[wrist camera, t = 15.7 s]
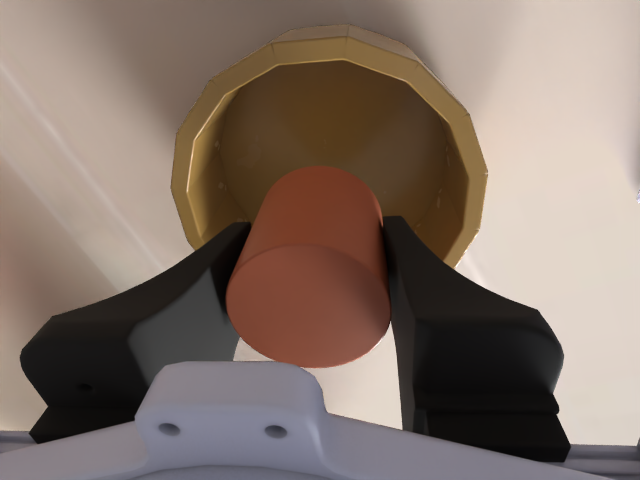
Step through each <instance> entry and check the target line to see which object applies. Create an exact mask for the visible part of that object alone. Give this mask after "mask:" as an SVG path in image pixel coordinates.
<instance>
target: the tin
mask: <svg viewBox="0 0 640 480" xmlns="http://www.w3.org/2000/svg"><path fill="white" fill-rule="evenodd" d="M310 166H328V167H334V168H338V169H341V170H344V171H346V172H349V173H351V174H352V175H354V176H356V177H357V178H359V179H360V180H361V181H363V182H364V183H365V184H366V185H367V186H368V187H369V188H370V190H371V191H372V192H373V193H374V195H375V197H376V199H377V200H378V203H379V205H380V209H381V213H382V222H383V216H402V217H403V218H404V219H405V221H406V222H407V223H408V225H409V226H410V227H411V229H412V230H413V231H414V232H415V234H416V235H417V236H418V237H419V238H420V239H421V240H422V242H423V243H424V244H425V245H426V246H427V247H428V248H429V249H430V250H431V251H432V252H433V253H434V254H435V255H436V256H438V257H439V258H440V259H441V260H442V261H443V262H444V263H446V264H447V265H448V266H450V267H451V268H453V269H455V268H456V266H457V265H458V263H459V262H460V260H461V258H462V257H463V255H464V254H465V252H466V251H467V249H468V247H469V246H470V244H471V243H472V241H473V240H474V238H475V237H476V235H477V233H478V232H479V229H480V225H481V218H482V211H483V204H484V198H485V191H486V184H487V177H488V174H487V173H488V170H487V167H486V164H485V161H484V158H483V155H482V152H481V148H480V145H479V142H478V139H477V136H476V133H475V130H474V127H473V124H472V121H471V118H470V114H469V113H468V112H467V110H466V109H465V108H464V106H463V105H462V104H461V103H460V102H459V101H458V99H457V98H456V97H455V96H454V95H453V94H452V93H451V91H450V90H449V89H448V88H447V87H446V86H445V84H444V83H443V82H442V81H441V80H440V79H439V78H438V77H437V76H436V75H435V74H434V73H433V72H432V71H431V70H430V69H429V68H428V67H427V66H426V65H425V64H424V63H423V62H422V61H421V60H420V59H419V58H418V57H417V56H416V55H415V54H414V53H413V52H412V51H411V49H410V48H409V47H408V46H406V45H405V44H404V43H401V42H398V41H396V40H393V39H390V38H387V37H385V36H383V35H381V34H378V33H376V32H372V31H369V30H365V29H363V28H360V27H357V26H355V25H352V24H350V25H349V24H341V25H325V26H315V27H309V28H299V29H292V30H288V31H287V32H285V33H283V34H282V35H280V36H279V37H277V38H275V39H274V40H272V41H270V42H269V43H267V44H265V45H264V46H262V47H260V48H259V49H257V50H255V51H254V52H252V53H250V54H249V55H247V56H245V57H244V58H242V59H241V60H239V61H237V62H236V63H234V64H233V65H231V66H230V67H228V68H227V69H225V70H224V71H222V72H220V73H219V74H217V75H216V76H214V77H213V78H212V79H211V80H210V81H209V82H208V84H207V85H206V87H205V88H204V90H203V92H202V93H201V95H200V96H199V98H198V99H197V101H196V103H195V104H194V106H193V107H192V109H191V110H190V112H189V114H188V115H187V117H186V118H185V120H184V121H183V123H182V125H181V126H180V128H179V129H178V132H177V133H176V142H175V152H174V161H173V170H172V179H171V192H172V195H173V198H174V201H175V204H176V207H177V210H178V213H179V217H180V220H181V223H182V226H183V229H184V232H185V235H186V238H187V239H188V240H187V241H188V242H189V244H190V245H191V246H192V247H193V249H194V250H195V251H196V250H198V249H199V248H200V247H201V246H203V245H204V244H205V243H207V242H208V241H209V240H211V239H212V238H213V237H214V236H216V235H217V234H218V233H220V232H221V231H222V230H223V229H225V228H226V227H227V226H229V225H230V224H232V223H234V222H251V227H252V226H253V224H254V222H255V219H256V217H257V215H258V212H259V210H260V208H261V205H262V203H263V201H264V198H265V196H266V195H267V193H268V191H269V190H270V188H271V187H272V186H273V185H274V184H275V183H276V182H277V181H278V180H279V179H280V178H282V177H283V176H284V175H286V174H288V173H290V172H292V171H294V170H297V169H300V168H304V167H310Z"/></svg>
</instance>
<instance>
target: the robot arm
mask: <svg viewBox="0 0 640 480" xmlns="http://www.w3.org/2000/svg"><path fill="white" fill-rule="evenodd" d="M637 201H638V203H640V190H639V193H638V195H637ZM251 229H252V227H251V222H234V223H232V224H230V225H229V226H227V227H226V228H225V229H223V230H222V231H221V232H220V233H218V234H217V235H216V236H214V237H213V238H212V239H211V240H209V241H208V242H207V243H205V244H204V245H203V246H201V247H200V248H199V249H198V250H196V251H195V252H193V253H192V254H190V255H189V256H188V257H186V258H185V259H183V260H182V261H180V262H179V263H177V264H176V265H174V266H173V267H171V268H169V269H168V270H166V271H164V272H163V273H161V274H159V275H157V276H156V277H154V278H152V279H150V280H148V281H146V282H144V283H142V284H140V285H138V286H135V287H133V288H131V289H129V290H127V291H125V292H122V293H120V294H118V295H115V296H113V297H110V298H108V299H105V300H102V301H99V302H97V303H94V304H91V305H88V306H85V307H82V308H78V309H75V310H72V311H68V312H65V313H62V314H58V315H55V316H52V317H51V318H50V319H49V320H48V321H47V322H46V324H45V325H44V326H43V327H42V328H41V329H40V330H39V331H38V332H37V334H36V335H35V336H34V337H33V338H32V339H31V340H30V341H29V342H28V344H27V345H26V346H25V347H24V348H23V349H22V351H21V355H20V362H21V367H22V370H23V372H24V373H25V375H26V377H27V378H28V380H29V381H30V382H31V384H32V385H33V386H34V388H35V389H36V390H37V392H38V393H39V395H40V396H41V397H42V399H43V400H44V401H45V403H46V404H47V405H48V407H47V409H46V410H45V411H44V413H43V414H42V416H41V417H40V418H39V420H38V421H37V422H36V424H35V425H34V426H33V428H32V429H31V431H0V480H640V439H639V441H638V444H637V446H621V445H579V444H570V443H569V441H568V438H567V436H566V434H565V432H564V430H563V428H562V426H561V423H560V421H559V419H558V417H557V415H556V414H558V413H559V405H558V403H557V401H556V399H555V397H554V395H553V392H554V389H555V386H556V383H557V381H558V378H559V375H560V372H561V369H562V366H563V360H564V354H563V350H562V347H561V344H560V343H559V341H558V339H557V337H556V336H555V334H554V332H553V331H552V329H551V328H550V326H549V324H548V323H547V322H546V320H545V319H544V318H543V317H542V315H541V314H540V312H539V311H538V310H537V309H534V308H531V307H528V306H526V305H523V304H520V303H518V302H515V301H512V300H509V299H507V298H505V297H502V296H500V295H498V294H496V293H494V292H491V291H489V290H487V289H485V288H483V287H481V286H480V285H478V284H476V283H474V282H473V281H471V280H469V279H468V278H466V277H464V276H463V275H461V274H460V273H458V272H457V271H455V270H454V269H453V268H451V267H450V266H448V265H447V264H446V263H444V262H443V261H442V260H441V259H440V258H439V257H438V256H436V255H435V254H434V253H433V252H432V251H431V250H430V249H429V248H428V247H427V246H426V245H425V244H424V243H423V242H422V240H421V239H420V238H419V237H418V236H417V235H416V234H415V232H414V231H413V230H412V229H411V227H410V226H409V225H408V223H407V222H406V221H405V219H404V218H403V217H402V216H383V236H384V245H385V252H386V259H387V268H388V277H389V287H390V296H391V306H392V314H391V324H392V329H393V334H394V339H395V346H396V353H397V365H398V376H399V388H400V400H401V413H402V426H403V430H400V429H395V428H391V427H387V426H382V425H378V424H374V423H370V422H365V421H361V420H357V419H352V418H348V417H344V416H339V415H335V414H331V413H328V412H327V411H326V408H325V405H324V399H323V391H322V389H321V387H320V385H319V383H318V381H317V380H316V378H315V376H313V375H312V374H310V373H309V372H307V371H305V370H304V369H302V368H300V367H299V366H297V365H294V364H288V363H283V362H277V361H233V358H234V354H235V350H236V347H237V343H238V340H239V337H240V336H239V335H238V333H237V332H236V331H235V329H234V327H233V326H232V324H231V322H230V320H229V317H228V314H227V310H226V303H225V295H226V288H227V285H228V282H229V280H230V277H231V275H232V273H233V270H234V268H235V266H236V263H237V261H238V259H239V256H240V254H241V252H242V249H243V247H244V245H245V243H246V240H247V238H248V236H249V233H250V231H251Z"/></svg>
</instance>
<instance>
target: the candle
mask: <svg viewBox="0 0 640 480" xmlns="http://www.w3.org/2000/svg"><path fill="white" fill-rule="evenodd" d="M225 303H226V310H227V314H228V317H229V320H230V322H231V324H232V326H233V327H234V329H235V331H236V332H237V333H238V335H239V336H240V337H241V338H242V339H243V340H244V341H245V342H246V343H247V344H248V345H249V346H251V347H252V348H253V349H255V350H256V351H258V352H259V353H261V354H263V355H264V356H266V357H268V358H271V359H273V360H275V361H278V362H283V363H288V364H294V365H297V366H299V367H304V368H327V367H334V366H339V365H343V364H346V363H349V362H352V361H354V360H356V359H359V358H361V357H362V356H364V355H366V354H367V353H369V352H370V351H371V350H372V349H374V348H375V347H376V346H377V345H378V343H379V342H380V341H381V340H382V338H383V337H384V335H385V334H386V332H387V329H388V327H389V324H390V321H391V314H392V306H391V296H390V287H389V277H388V268H387V259H386V252H385V245H384V236H383V222H382V213H381V209H380V205H379V203H378V200H377V199H376V197H375V195H374V193H373V192H372V191H371V190H370V188H369V187H368V186H367V185H366V184H365V183H364V182H363V181H361V180H360V179H359V178H357V177H356V176H354V175H352V174H351V173H349V172H346V171H344V170H341V169H338V168H334V167H328V166H310V167H304V168H300V169H297V170H294V171H292V172H290V173H288V174H286V175H284V176H283V177H282V178H280V179H279V180H278V181H277V182H276V183H275V184H274V185H273V186H272V187H271V188H270V190H269V191H268V193H267V195H266V196H265V198H264V201H263V203H262V205H261V208H260V210H259V212H258V215H257V217H256V219H255V222H254V224H253V226H252V229H251V231H250V233H249V236H248V238H247V240H246V243H245V245H244V247H243V249H242V252H241V254H240V256H239V259H238V261H237V263H236V266H235V268H234V270H233V273H232V275H231V277H230V280H229V282H228V285H227V288H226V295H225Z"/></svg>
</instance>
